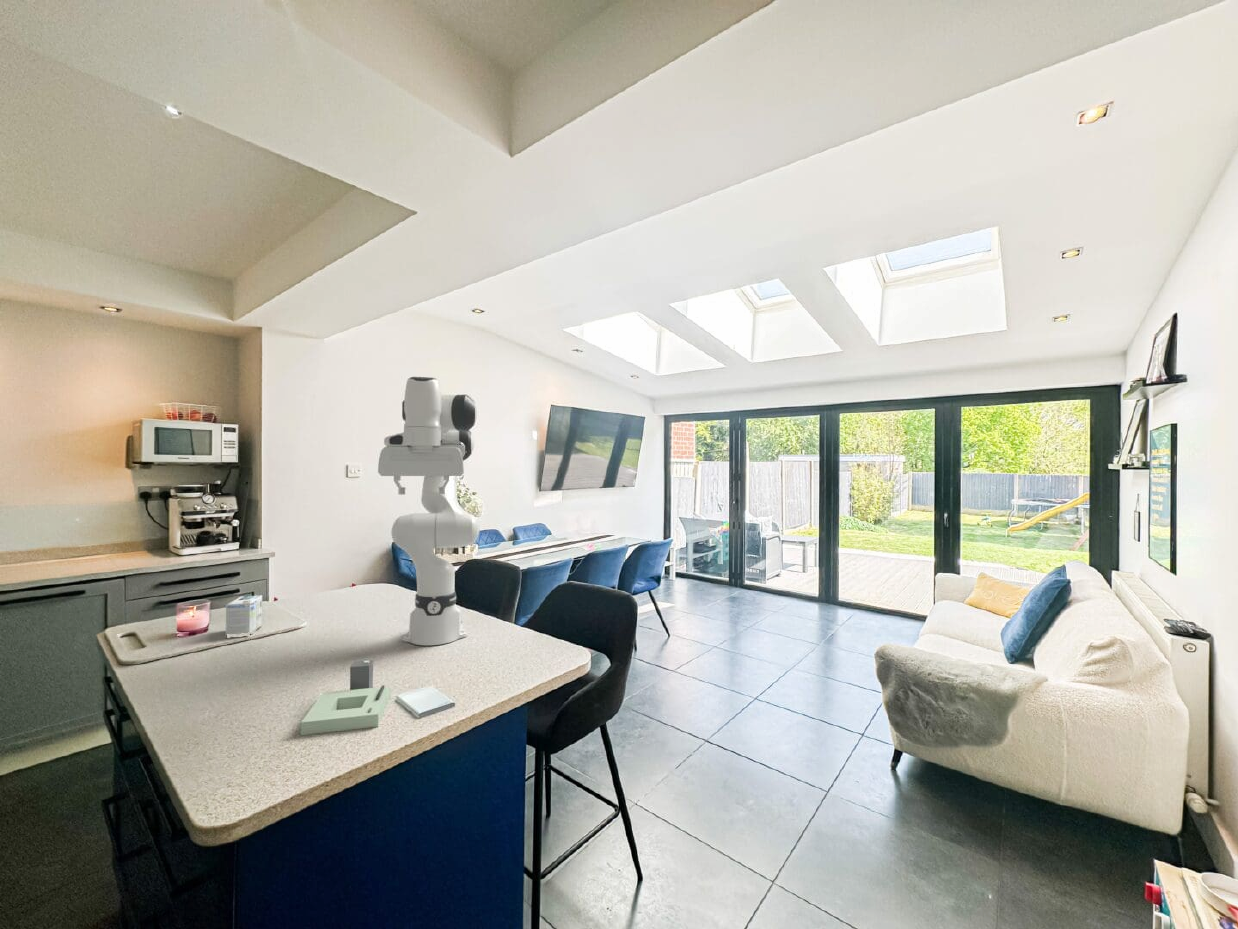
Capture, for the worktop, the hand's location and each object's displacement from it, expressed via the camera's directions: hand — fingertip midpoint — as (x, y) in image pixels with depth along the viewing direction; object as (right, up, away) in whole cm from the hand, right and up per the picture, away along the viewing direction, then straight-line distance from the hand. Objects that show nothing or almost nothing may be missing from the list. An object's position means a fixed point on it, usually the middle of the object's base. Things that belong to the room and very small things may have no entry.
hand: (422, 494), depth 129 cm
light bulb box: (-71, -47, +35) cm, 91 cm away
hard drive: (+6, -47, -14) cm, 49 cm away
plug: (-10, -46, -10) cm, 48 cm away
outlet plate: (-8, -46, -20) cm, 51 cm away
